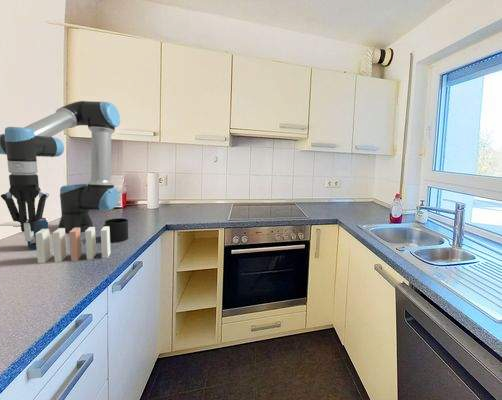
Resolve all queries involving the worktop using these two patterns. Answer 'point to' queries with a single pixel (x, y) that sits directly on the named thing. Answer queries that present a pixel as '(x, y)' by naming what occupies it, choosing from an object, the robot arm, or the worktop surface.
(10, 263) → the worktop surface
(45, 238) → the domino
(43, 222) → the soda can
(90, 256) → the domino
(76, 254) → the domino
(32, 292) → the worktop surface
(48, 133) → the robot arm
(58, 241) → the domino
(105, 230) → the domino
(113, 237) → the mug
